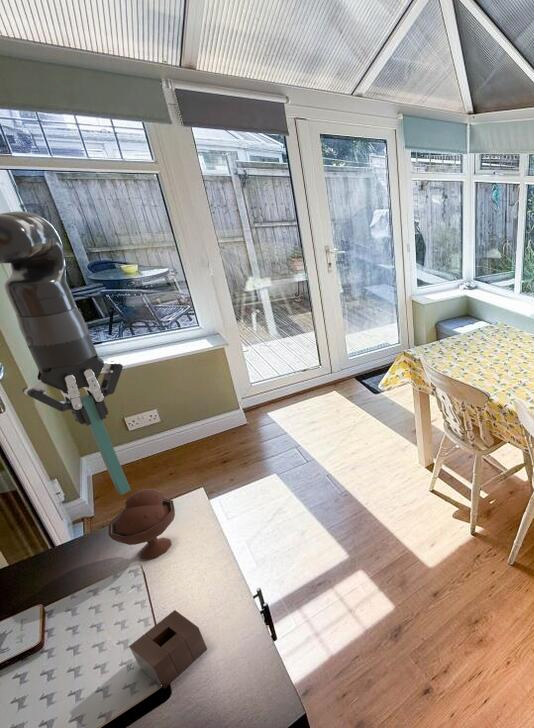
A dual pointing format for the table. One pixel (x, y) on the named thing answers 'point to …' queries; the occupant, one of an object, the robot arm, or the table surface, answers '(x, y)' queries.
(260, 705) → the table surface
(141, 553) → the ice cream bowl
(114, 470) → the stick
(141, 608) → the table surface
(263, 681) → the table surface
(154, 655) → the holder
